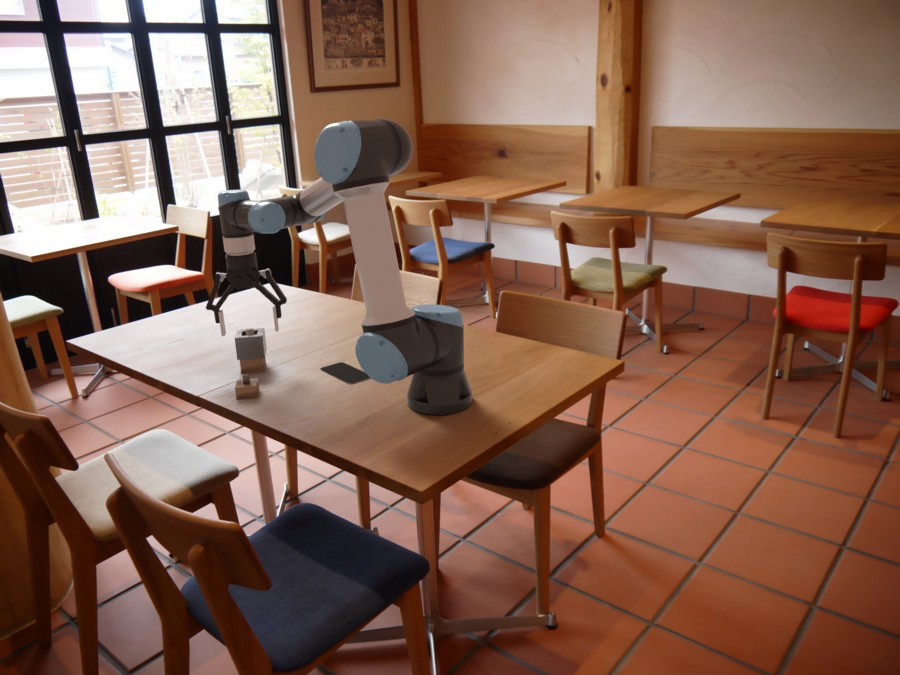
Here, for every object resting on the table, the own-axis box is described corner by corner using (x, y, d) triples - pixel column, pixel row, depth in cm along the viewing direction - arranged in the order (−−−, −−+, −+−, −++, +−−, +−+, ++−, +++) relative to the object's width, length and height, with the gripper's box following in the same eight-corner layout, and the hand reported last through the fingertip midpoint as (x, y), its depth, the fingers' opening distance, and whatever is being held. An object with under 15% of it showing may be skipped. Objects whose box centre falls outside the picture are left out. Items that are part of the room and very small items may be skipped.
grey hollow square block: (264, 357, 194) (262, 336, 192) (237, 360, 193) (234, 338, 191) (266, 349, 200) (264, 327, 198) (239, 351, 199) (237, 329, 197)
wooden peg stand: (264, 371, 195) (260, 331, 192) (241, 373, 194) (236, 333, 191) (266, 363, 201) (261, 325, 197) (243, 365, 200) (238, 326, 197)
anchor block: (257, 397, 179) (255, 378, 177) (236, 399, 178) (234, 380, 177) (259, 389, 184) (257, 370, 182) (238, 391, 183) (236, 372, 181)
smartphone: (341, 361, 201) (373, 376, 190) (342, 363, 201) (374, 378, 190) (318, 368, 196) (349, 383, 185) (318, 370, 196) (350, 386, 185)
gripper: (290, 246, 193) (299, 324, 200) (191, 253, 189) (203, 332, 196) (289, 251, 186) (298, 332, 193) (186, 258, 182) (199, 340, 189)
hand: (250, 332), depth 194 cm, fingers open, 13 cm apart
